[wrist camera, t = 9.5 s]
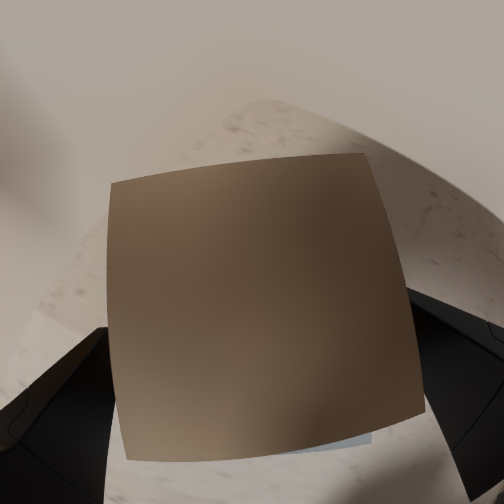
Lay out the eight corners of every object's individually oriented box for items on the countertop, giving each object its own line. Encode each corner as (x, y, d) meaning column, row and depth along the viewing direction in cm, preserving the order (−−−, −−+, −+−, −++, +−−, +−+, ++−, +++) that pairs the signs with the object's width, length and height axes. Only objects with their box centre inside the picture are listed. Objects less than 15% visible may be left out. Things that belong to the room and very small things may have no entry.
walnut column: (298, 371, 16) (425, 412, 3) (218, 382, 16) (127, 459, 3) (286, 294, 17) (363, 153, 5) (208, 305, 17) (110, 183, 5)
